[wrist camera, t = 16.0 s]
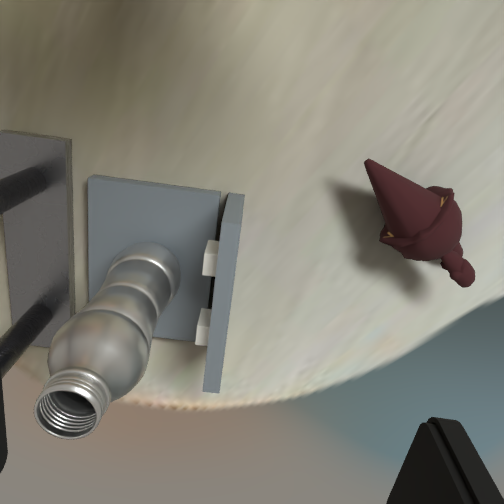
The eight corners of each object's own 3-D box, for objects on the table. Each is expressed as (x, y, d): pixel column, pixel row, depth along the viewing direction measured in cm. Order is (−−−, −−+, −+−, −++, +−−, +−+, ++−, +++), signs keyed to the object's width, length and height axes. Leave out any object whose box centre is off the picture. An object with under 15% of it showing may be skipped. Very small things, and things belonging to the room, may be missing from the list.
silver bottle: (198, 270, 42) (151, 421, 24) (149, 308, 44) (68, 476, 26) (153, 221, 41) (64, 343, 22) (103, 262, 42) (-19, 407, 24)
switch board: (93, 174, 41) (51, 199, 32) (244, 194, 41) (241, 224, 33) (94, 321, 47) (58, 374, 38) (226, 337, 47) (219, 393, 39)
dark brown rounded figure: (331, 207, 35) (436, 314, 40) (412, 148, 31) (516, 274, 36) (330, 170, 41) (422, 268, 46) (398, 116, 37) (490, 229, 42)
